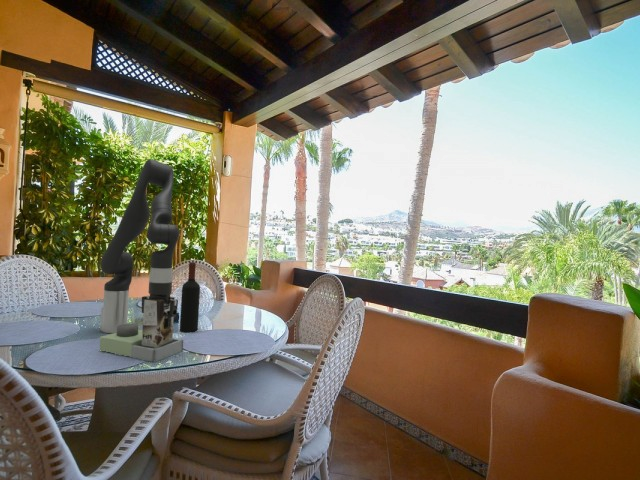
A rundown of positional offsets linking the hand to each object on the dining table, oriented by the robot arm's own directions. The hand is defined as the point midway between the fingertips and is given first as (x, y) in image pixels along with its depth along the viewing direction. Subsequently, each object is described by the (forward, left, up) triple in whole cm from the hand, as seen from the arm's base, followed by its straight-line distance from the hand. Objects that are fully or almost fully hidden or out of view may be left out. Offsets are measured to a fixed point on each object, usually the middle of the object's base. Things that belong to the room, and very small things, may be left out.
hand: (158, 327), depth 132 cm
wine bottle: (-10, +31, -10) cm, 34 cm away
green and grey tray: (-5, 0, -9) cm, 11 cm away
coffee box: (0, 0, -6) cm, 6 cm away
